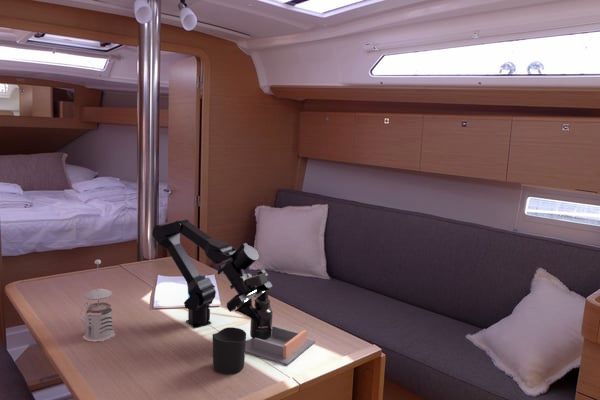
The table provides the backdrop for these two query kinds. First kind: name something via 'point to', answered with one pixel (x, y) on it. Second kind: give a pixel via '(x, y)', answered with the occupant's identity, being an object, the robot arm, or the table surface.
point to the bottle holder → (280, 345)
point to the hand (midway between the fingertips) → (265, 317)
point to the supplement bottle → (262, 320)
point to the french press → (94, 329)
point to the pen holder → (229, 350)
